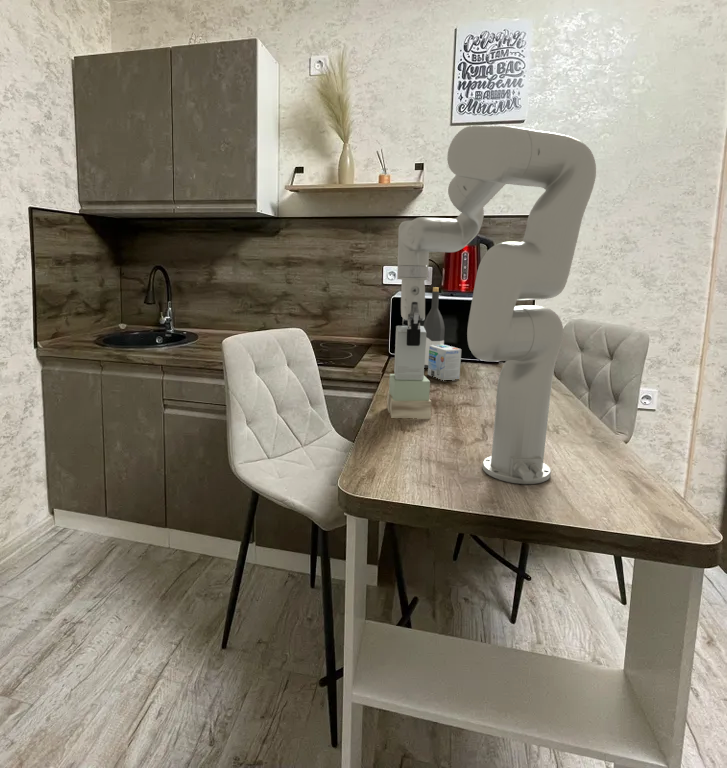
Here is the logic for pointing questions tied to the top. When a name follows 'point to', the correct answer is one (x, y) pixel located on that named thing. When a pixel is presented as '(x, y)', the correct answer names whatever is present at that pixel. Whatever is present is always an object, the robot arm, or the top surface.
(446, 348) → the light bulb box
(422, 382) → the tower top
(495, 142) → the robot arm
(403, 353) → the supplement box
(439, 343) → the wine bottle
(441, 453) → the top surface
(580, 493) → the top surface
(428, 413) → the tower base
